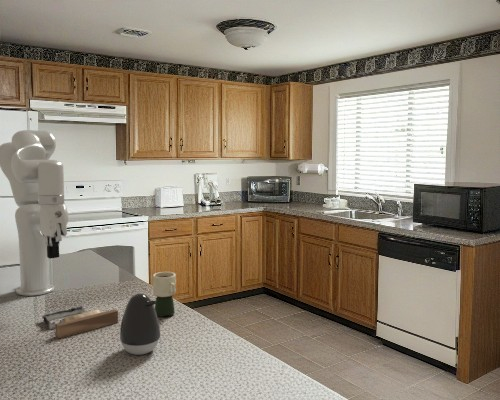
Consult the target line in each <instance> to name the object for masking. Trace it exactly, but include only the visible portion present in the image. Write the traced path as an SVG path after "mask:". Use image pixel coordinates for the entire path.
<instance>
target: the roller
mask: <svg viewBox="0 0 500 400" xmlns="http://www.w3.org/2000/svg"><path fill="white" fill-rule="evenodd" d="M98 313H102V312H101V310H100V309H94V310H90V311H87V312H85V313H77V314H73V315H69V316H65V317H63V319H64V320H63V322H66V321H70V320H74V319H78V318H82V317H86V316H90V315H94V314H98Z"/></svg>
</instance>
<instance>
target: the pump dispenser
mask: <svg viewBox="0 0 500 400" xmlns="http://www.w3.org/2000/svg"><path fill="white" fill-rule="evenodd" d="M155 304H156V299H152V300H151V298H150V297H149V296H148V295H147V294H145V293H136V294H134V295H132V296H131V297H130V299H129V300H128V302H127V304H126V306H125V309H124V312H123V315H122V318H121V323H120V329H119V341H120V343H121V345H122V348H123V349H124V350H125V351H126V352H127V353H128V354H132V355H136V356H140V355H141V356H142V355H146V354H149V353H151V352H152V351H153V350H155V348H156V346H157V345H158V343H159V340H160V338H161V328H160V322H159V319H158V316H157V314H156V311H155Z"/></svg>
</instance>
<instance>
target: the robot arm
mask: <svg viewBox="0 0 500 400" xmlns="http://www.w3.org/2000/svg"><path fill="white" fill-rule="evenodd" d="M56 142H57V141H56V138H55V136H54V135H53V134H52V133H51V132H50V131H48V130H27V129H26V130H25V129H24V130H19V131H17V132H15V133H14V134H13V135H12V136H11V141H10V142H5V143H2V144H0V169H1V171H2V173H3V175H4V176H5V177H6V178H7V180H8V182H9V185H10V188H11V192H12V195H13V198H14V202H15V205H16V206H18V207H17V209H16V210H15V213H14V220H15V225H16V230H17V235H18V237H17V238H18V251H19V269H20V270H19V271H20V275H19V276H20V286H19V287H17V288H16V289H15V293H16V294H17V295H19V296H25V297H29V296H32V297H33V296H40V295H44V294H45V295H46V294H49V293H51V292H53V291H54V289H55V285H54V284H52V283H50V261H49V260H50V259H57V258H60V242H62V240H63V238H62V237H66V236H67V235H68V223H69V212H68V209H67V206H66V204H65V203H66V202H65V182H64V180H65V179H64V173H65V172H64V165H63V163H62V162H61V161H58V160H55V159H50V158H51V157H52V155H54V153H55V150H56V146H57V144H56Z"/></svg>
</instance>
